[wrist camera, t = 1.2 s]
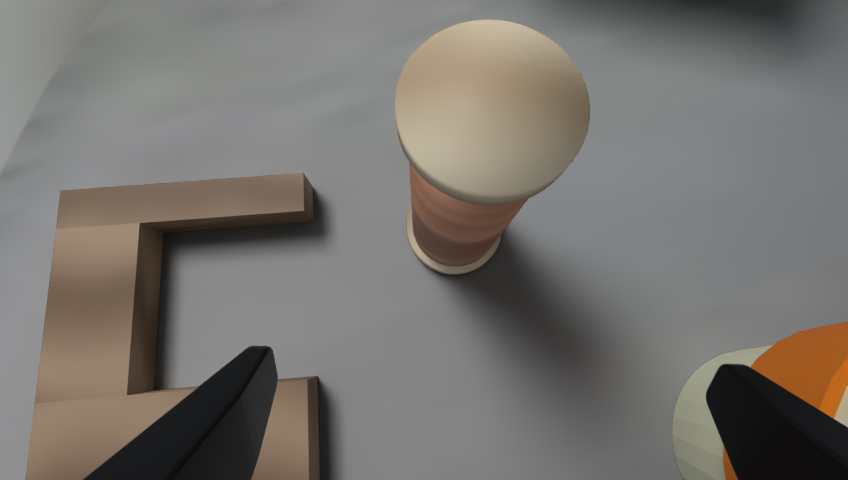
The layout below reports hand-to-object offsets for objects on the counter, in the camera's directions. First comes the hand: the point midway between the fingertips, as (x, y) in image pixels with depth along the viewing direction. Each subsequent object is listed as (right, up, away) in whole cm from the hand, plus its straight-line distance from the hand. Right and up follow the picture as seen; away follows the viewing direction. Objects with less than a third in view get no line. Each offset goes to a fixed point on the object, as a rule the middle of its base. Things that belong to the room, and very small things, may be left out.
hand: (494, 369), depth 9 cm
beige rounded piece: (0, +3, +14) cm, 15 cm away
